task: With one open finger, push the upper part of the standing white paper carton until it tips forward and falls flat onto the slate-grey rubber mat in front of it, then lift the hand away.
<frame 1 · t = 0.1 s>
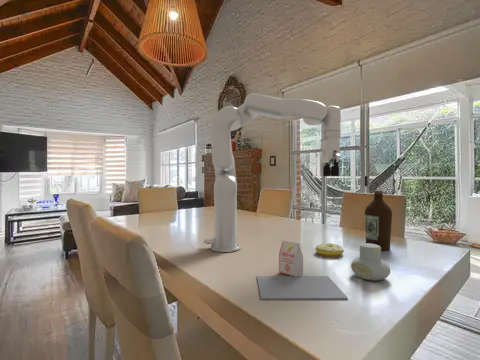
hand: (330, 176, 117), 31 cm above the table, tool pointing down, fingers open, 9 cm apart
decorated donut: (329, 255, 109), on the table
mat: (297, 287, 76), on the table
air freshener: (369, 278, 84), on the table
white paper carton: (290, 274, 86), on the table, touching mat
olive oil: (377, 248, 118), on the table
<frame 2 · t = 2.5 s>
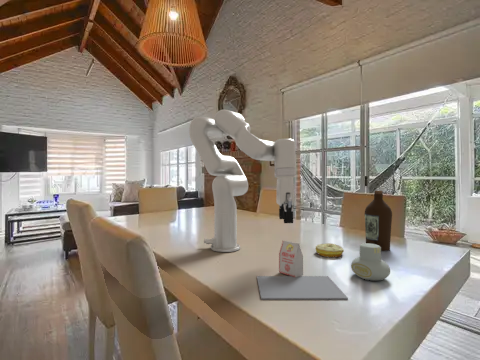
hand: (285, 220, 98), 15 cm above the table, tool pointing down, fingers open, 9 cm apart
nothing on the table moved.
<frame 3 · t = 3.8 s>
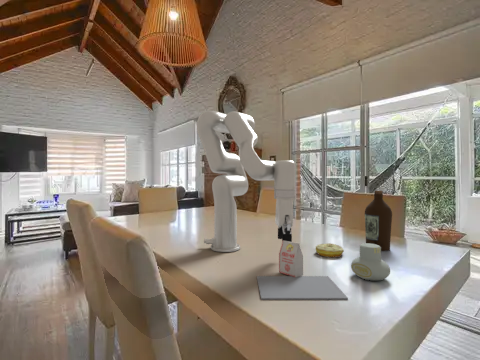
hand: (284, 241, 99), 7 cm above the table, tool pointing down, fingers open, 9 cm apart
nothing on the table moved.
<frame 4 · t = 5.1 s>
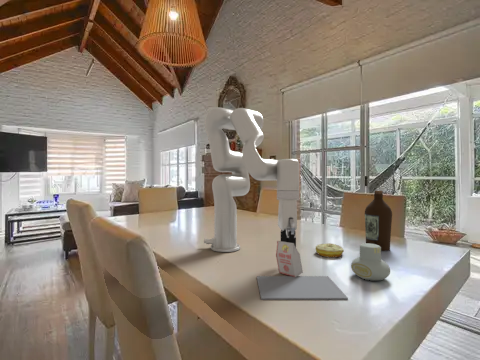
hand: (287, 246, 92), 7 cm above the table, tool pointing down, fingers open, 9 cm apart
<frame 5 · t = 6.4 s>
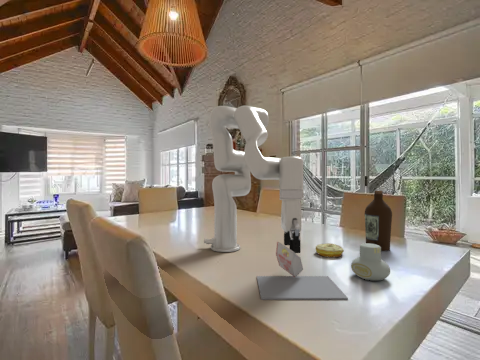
hand: (291, 248, 87), 8 cm above the table, tool pointing down, fingers open, 9 cm apart
white paper carton: (291, 268, 86), point 2 cm above the table, touching gripper, mat
everything else where it was.
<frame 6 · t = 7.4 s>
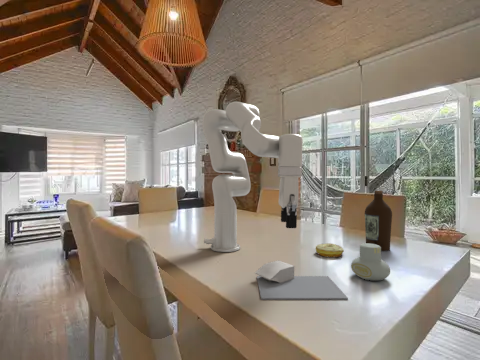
hand: (288, 224, 89), 15 cm above the table, tool pointing down, fingers open, 9 cm apart
white paper carton: (286, 268, 85), point 2 cm above the table, touching mat
everything else where it was.
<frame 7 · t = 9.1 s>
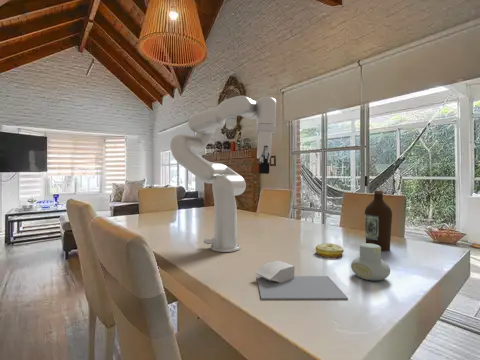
hand: (263, 173, 108), 32 cm above the table, tool pointing down, fingers open, 9 cm apart
nothing on the table moved.
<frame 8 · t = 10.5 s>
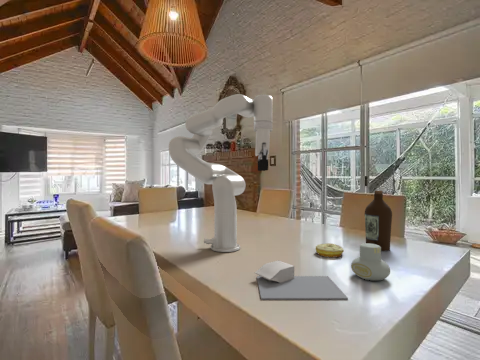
hand: (262, 170, 108), 33 cm above the table, tool pointing down, fingers open, 9 cm apart
nothing on the table moved.
at the end: white paper carton tilted 90°; white paper carton touching mat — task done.
